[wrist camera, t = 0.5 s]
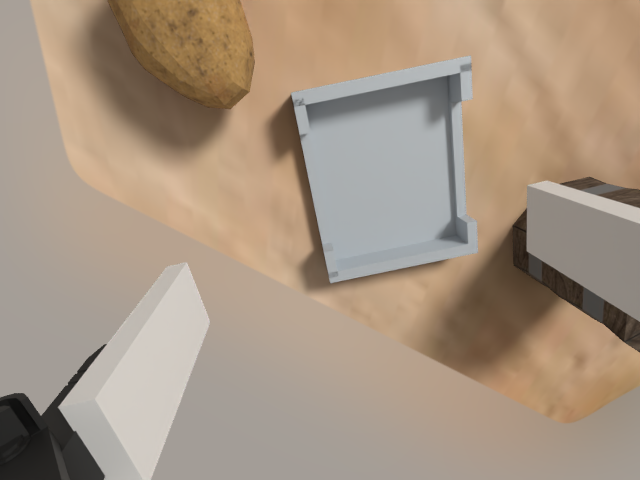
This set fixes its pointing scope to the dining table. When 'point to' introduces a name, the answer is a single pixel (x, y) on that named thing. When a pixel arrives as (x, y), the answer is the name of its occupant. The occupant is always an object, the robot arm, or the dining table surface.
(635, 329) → the mug
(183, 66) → the potato
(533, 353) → the dining table surface
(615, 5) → the dining table surface
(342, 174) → the light blue shallow tray
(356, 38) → the dining table surface
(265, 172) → the dining table surface
